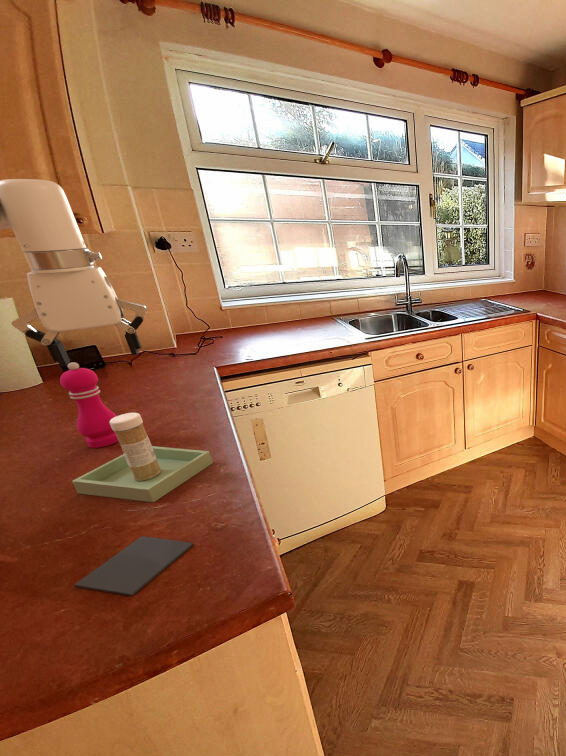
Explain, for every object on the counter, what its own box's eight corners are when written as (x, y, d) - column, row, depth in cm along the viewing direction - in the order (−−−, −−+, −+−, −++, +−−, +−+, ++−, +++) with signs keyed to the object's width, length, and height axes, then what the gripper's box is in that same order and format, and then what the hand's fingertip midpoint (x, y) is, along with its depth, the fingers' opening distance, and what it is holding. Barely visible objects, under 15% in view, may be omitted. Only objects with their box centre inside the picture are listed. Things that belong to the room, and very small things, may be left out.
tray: (77, 493, 82) (71, 480, 81) (145, 456, 94) (141, 444, 93) (153, 502, 79) (148, 489, 78) (213, 462, 91) (209, 451, 90)
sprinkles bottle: (140, 471, 88) (115, 413, 83) (166, 467, 89) (143, 410, 84) (129, 484, 84) (103, 424, 79) (157, 479, 85) (133, 419, 80)
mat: (75, 586, 61) (74, 584, 61) (142, 537, 70) (141, 536, 70) (132, 596, 59) (131, 594, 59) (193, 544, 68) (193, 542, 68)
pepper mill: (81, 443, 100) (45, 364, 92) (120, 431, 105) (88, 355, 98) (90, 452, 96) (52, 370, 89) (130, 439, 102) (98, 360, 94)
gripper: (130, 255, 78) (162, 344, 84) (-7, 264, 69) (41, 363, 75) (124, 258, 72) (159, 354, 78) (-26, 268, 63) (28, 375, 69)
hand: (101, 358), depth 77 cm, fingers open, 9 cm apart
